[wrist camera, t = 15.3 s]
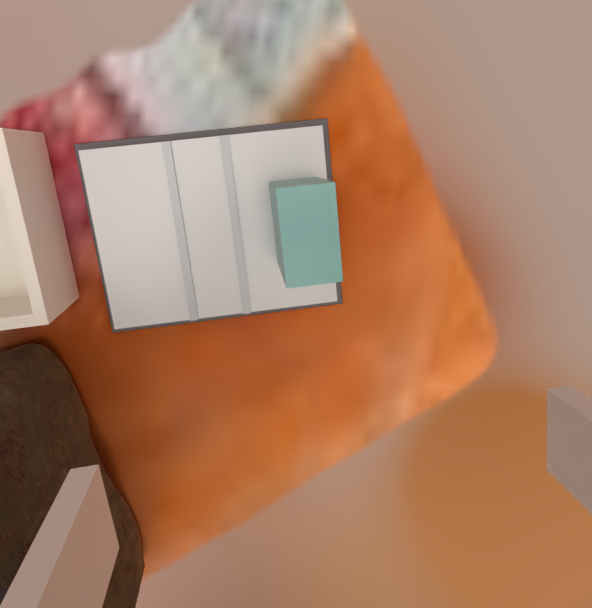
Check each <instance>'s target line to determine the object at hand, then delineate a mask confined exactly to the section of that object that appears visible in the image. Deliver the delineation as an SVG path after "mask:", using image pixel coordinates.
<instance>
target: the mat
mask: <svg viewBox="0 0 592 608" xmlns="http://www.w3.org/2000/svg"><path fill="white" fill-rule="evenodd" d="M320 125H323V137H324V149H325V161H326V172H327V180H330V181H332V170H331V158H330V146H329V134H328V122H327V118H325V119H316V120H306V121H296V122H287V123H277V124H267V125H258V126H248V127H238V128H228V129H219V130H209V131H199V132H190V133H180V134H170V135H161V136H151V137H141V138H131V139H122V140H112V141H102V142H93V143H83V144H74V146H75V151H76V156H77V161H78V165H79V170H80V175H81V180H82V185H83V190H84V195H85V200H86V205H87V209H88V214H89V219H90V224H91V229H92V234H93V239H94V244H95V248H96V253H97V258H98V263H99V268H100V273H101V278H102V283H103V288H104V292H105V297H106V302H107V307H108V312H109V317H110V322H111V327H112V332H113V333H114V332H121V331H129V330H137V329H145V328H153V327H161V326H169V325H177V324H185V323H192V322H200V321H208V320H216V319H224V318H232V317H240V316H248V315H256V314H263V313H271V312H279V311H287V310H295V309H303V308H311V307H319V306H327V305H334V304H342V292H341V282H336V290H337V301H335V302H327V303H319V304H311V305H304V306H296V307H288V308H280V309H272V310H264V311H256V312H251V313H249V314H243V313H240V314H232V315H224V316H217V317H209V318H201V319H198V320H194V321H190V320H185V321H177V322H169V323H161V324H153V325H145V326H137V327H130V328H122V329H114V324H113V319H112V314H111V309H110V304H109V299H108V294H107V289H106V284H105V279H104V275H103V270H102V265H101V260H100V255H99V250H98V245H97V240H96V235H95V230H94V225H93V220H92V216H91V211H90V206H89V201H88V196H87V191H86V186H85V181H84V176H83V171H82V166H81V161H80V157H79V152H78V151H79V150H89V149H98V148H108V147H118V146H127V145H137V144H146V143H156V142H164V141H175V140H185V139H195V138H204V137H214V136H222V135H233V134H243V133H252V132H262V131H272V130H281V129H291V128H300V127H310V126H320Z"/></svg>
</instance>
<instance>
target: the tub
mask: <svg viewBox="0 0 592 608" xmlns="http://www.w3.org/2000/svg"><path fill="white" fill-rule="evenodd" d="M79 297H80V296H79V292H78V287H77V283H76V278H75V274H74V269H73V264H72V260H71V255H70V251H69V246H68V241H67V237H66V232H65V228H64V223H63V218H62V214H61V209H60V205H59V200H58V196H57V191H56V186H55V182H54V177H53V173H52V168H51V163H50V159H49V154H48V150H47V145H46V140H45V136H44V133H42V132H33V131H25V130H16V129H8V128H0V331H1V330H9V329H17V328H25V327H33V326H41V325H49V324H50V323H51V322H52V321H53V320H54V319H56V318H57V317H58V316H59V315H60V314H61V313H62V312H63V311H65V310H66V309H67V308H68V307H69V306H70V305H71V304H72V303H74V302H75V301H76V300H77V299H78V298H79Z"/></svg>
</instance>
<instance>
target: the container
mask: <svg viewBox="0 0 592 608" xmlns="http://www.w3.org/2000/svg"><path fill="white" fill-rule="evenodd" d="M98 464H99V468H100V472H101V476H102V480H103V484H104V488H105V492H106V496H107V500H108V504H109V508H110V512H111V516H112V520H113V524H114V528H115V532H116V536H117V540H118V544H119V550H118V554H117V557H116V561H115V564H114V568H113V571H112V575H111V578H110V582H109V585H108V589H107V592H106V596H105V599H104V603H103V606H102V608H135V606H136V602H137V597H138V593H139V589H140V584H141V580H142V576H143V571H144V566H145V565H144V559H143V552H142V543H141V535H140V532H139V528H138V525H137V523H136V521H135V518H134V516H133V514H132V511H131V509H130V507H129V506H128V504H127V503H126V501H125V500H124V498H123V497H122V495H121V494H120V493H119V491H118V490H117V488H116V487H115V485H114V484H113V483H112V481H111V479H110V478H109V476H108V474H107V473H106V471H105V469H104V467H103V466H102V463H101V461H100V458H99V456H98V454H97V451H96V449H95V446H94V444H93V442H92V437H91V432H90V427H89V421H88V416H87V412H86V410H85V407H84V405H83V403H82V400H81V398H80V396H79V394H78V391H77V389H76V387H75V384H74V382H73V380H72V377H71V375H70V373H69V372H68V371H67V369H66V368H65V366H64V365H63V363H62V362H61V361H60V359H59V358H58V357H57V356H56V355H55V354H54V353H53V352H52V351H51V350H50V349H49V348H47V347H46V346H44V345H42V344H37V343H28V344H25V345H22V346H18V347H15V348H12V349H9V350H5V351H2V352H0V588H4V587H10V586H11V584H12V582H13V580H14V578H15V576H16V574H17V572H18V570H19V568H20V566H21V564H22V562H23V560H24V558H25V556H26V555H27V553H28V551H29V549H30V547H31V545H32V543H33V541H34V539H35V537H36V535H37V533H38V531H39V529H40V527H41V525H42V523H43V522H44V520H45V518H46V516H47V514H48V512H49V510H50V508H51V506H52V504H53V502H54V500H55V498H56V496H57V494H58V492H59V491H60V489H61V487H62V485H63V483H64V481H65V479H66V477H67V475H68V473H69V471H70V469H74V468H80V467H86V466H92V465H98Z"/></svg>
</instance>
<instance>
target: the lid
mask: <svg viewBox="0 0 592 608" xmlns="http://www.w3.org/2000/svg"><path fill="white" fill-rule="evenodd" d="M78 152H79V157H80V161H81V166H82V171H83V176H84V181H85V186H86V191H87V196H88V201H89V206H90V211H91V216H92V220H93V225H94V230H95V235H96V240H97V245H98V250H99V255H100V260H101V265H102V270H103V275H104V279H105V284H106V289H107V294H108V299H109V304H110V309H111V314H112V319H113V324H114V329H122V328H130V327H137V326H145V325H153V324H161V323H169V322H177V321H185V320H190V321H194V320H198V319H201V318H209V317H217V316H224V315H232V314H240V313H243V314H249V313H251V312H256V311H264V310H272V309H280V308H288V307H296V306H304V305H311V304H319V303H327V302H335V301H337V290H336V282H343V273H342V261H341V248H340V236H339V224H338V211H337V199H336V187H335V182H334V181H330V180H327V172H326V161H325V149H324V137H323V125H320V126H310V127H300V128H291V129H281V130H272V131H262V132H252V133H243V134H233V135H222V136H214V137H204V138H195V139H185V140H175V141H164V142H156V143H146V144H137V145H127V146H118V147H108V148H98V149H89V150H79V151H78Z"/></svg>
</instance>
